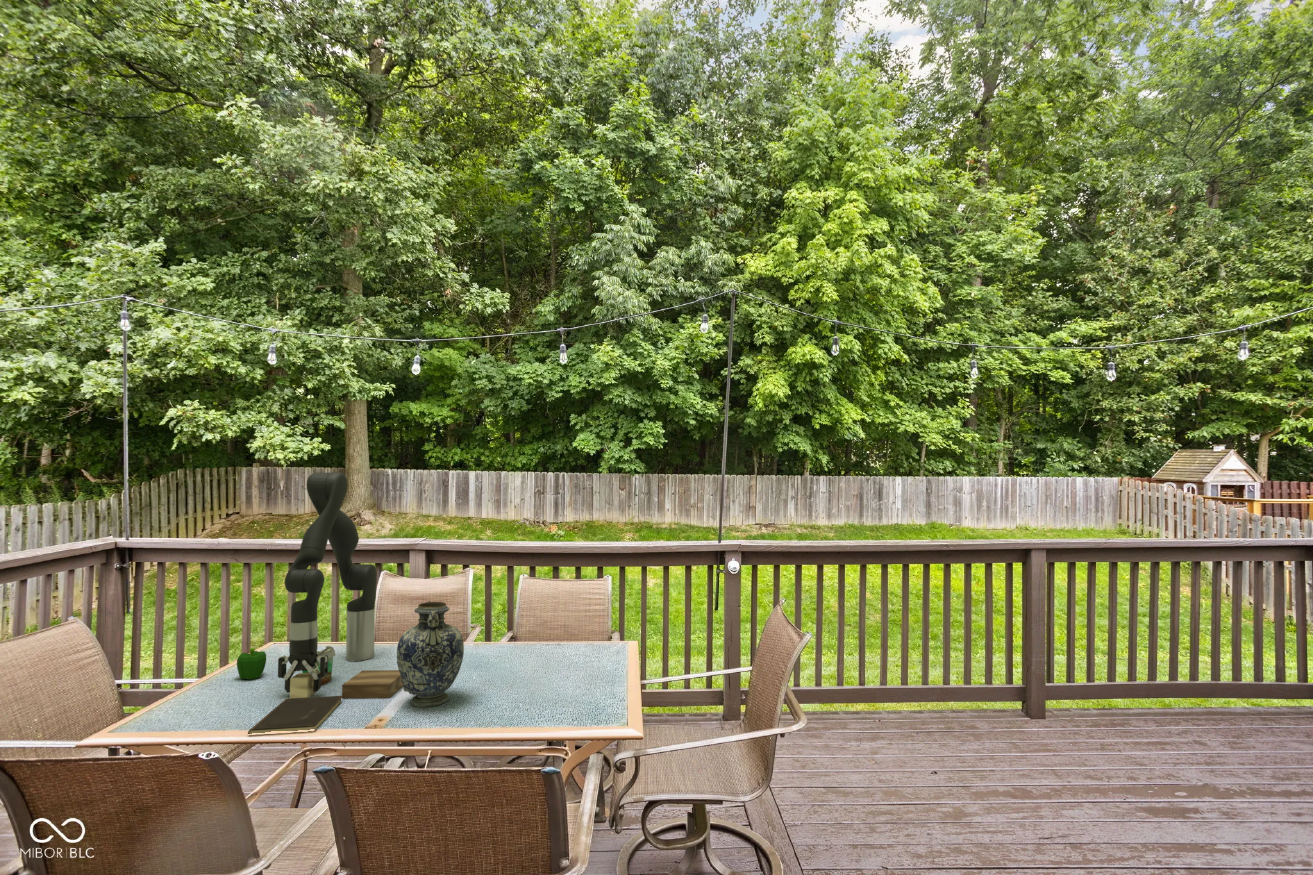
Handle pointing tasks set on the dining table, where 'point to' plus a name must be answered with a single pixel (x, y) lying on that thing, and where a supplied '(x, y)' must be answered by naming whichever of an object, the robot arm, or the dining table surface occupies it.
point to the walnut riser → (372, 684)
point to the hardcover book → (297, 714)
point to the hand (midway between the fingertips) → (302, 691)
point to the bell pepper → (251, 664)
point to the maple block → (301, 685)
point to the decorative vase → (430, 656)
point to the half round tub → (331, 654)
